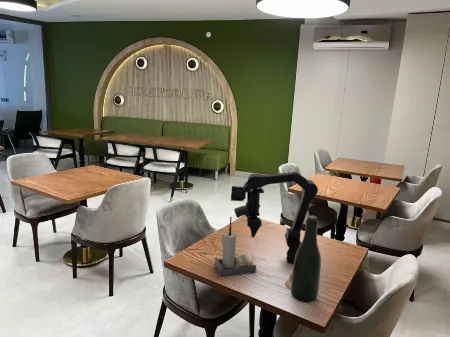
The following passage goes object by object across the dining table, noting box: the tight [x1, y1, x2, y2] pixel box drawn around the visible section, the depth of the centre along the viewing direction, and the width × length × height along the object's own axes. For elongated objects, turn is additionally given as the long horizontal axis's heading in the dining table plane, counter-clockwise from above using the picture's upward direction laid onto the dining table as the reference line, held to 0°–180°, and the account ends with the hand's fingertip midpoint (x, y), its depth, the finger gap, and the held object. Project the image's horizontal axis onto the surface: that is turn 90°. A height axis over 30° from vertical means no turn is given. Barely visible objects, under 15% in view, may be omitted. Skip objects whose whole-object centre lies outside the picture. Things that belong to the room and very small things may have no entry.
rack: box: [214, 256, 257, 277], centre depth 148 cm, size 16×9×4 cm, turn 108°
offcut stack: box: [235, 254, 254, 267], centre depth 149 cm, size 6×6×5 cm
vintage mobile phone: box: [221, 216, 237, 269], centre depth 144 cm, size 4×5×25 cm
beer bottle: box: [290, 214, 322, 304], centre depth 127 cm, size 10×10×33 cm
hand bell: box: [284, 270, 293, 290], centre depth 136 cm, size 8×8×16 cm
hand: (251, 233), depth 156 cm, fingers open, 9 cm apart
